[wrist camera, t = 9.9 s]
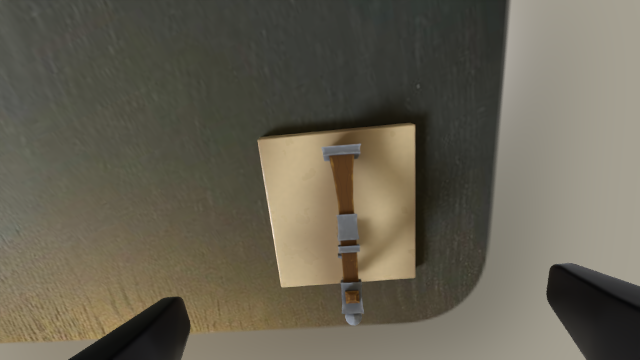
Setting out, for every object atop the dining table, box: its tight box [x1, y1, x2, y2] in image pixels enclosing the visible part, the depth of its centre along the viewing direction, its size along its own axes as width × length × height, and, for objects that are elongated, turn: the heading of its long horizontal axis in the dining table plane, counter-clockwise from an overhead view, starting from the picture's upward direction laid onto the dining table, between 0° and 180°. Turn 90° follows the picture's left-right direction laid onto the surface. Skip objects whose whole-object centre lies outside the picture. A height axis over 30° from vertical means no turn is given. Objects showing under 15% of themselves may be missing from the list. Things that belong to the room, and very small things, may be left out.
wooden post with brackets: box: [321, 144, 364, 325], centre depth 15 cm, size 2×8×4 cm, turn 5°
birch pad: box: [258, 123, 415, 287], centre depth 17 cm, size 8×9×1 cm
